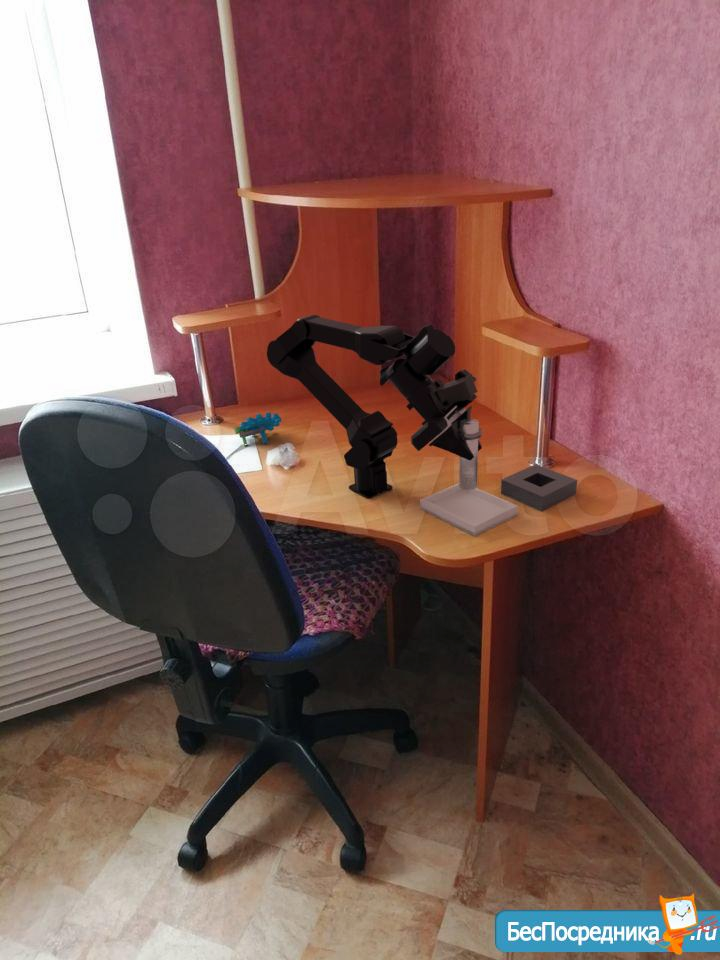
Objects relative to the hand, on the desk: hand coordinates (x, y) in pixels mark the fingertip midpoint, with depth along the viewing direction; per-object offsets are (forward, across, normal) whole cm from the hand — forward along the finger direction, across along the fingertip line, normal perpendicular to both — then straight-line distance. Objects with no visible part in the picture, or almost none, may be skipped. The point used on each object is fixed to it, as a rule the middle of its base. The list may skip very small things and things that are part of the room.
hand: (476, 454), depth 133 cm
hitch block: (+15, +12, +2) cm, 19 cm away
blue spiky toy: (-32, +16, +50) cm, 62 cm away
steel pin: (+4, 0, +6) cm, 7 cm away
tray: (+8, 0, +9) cm, 12 cm away
